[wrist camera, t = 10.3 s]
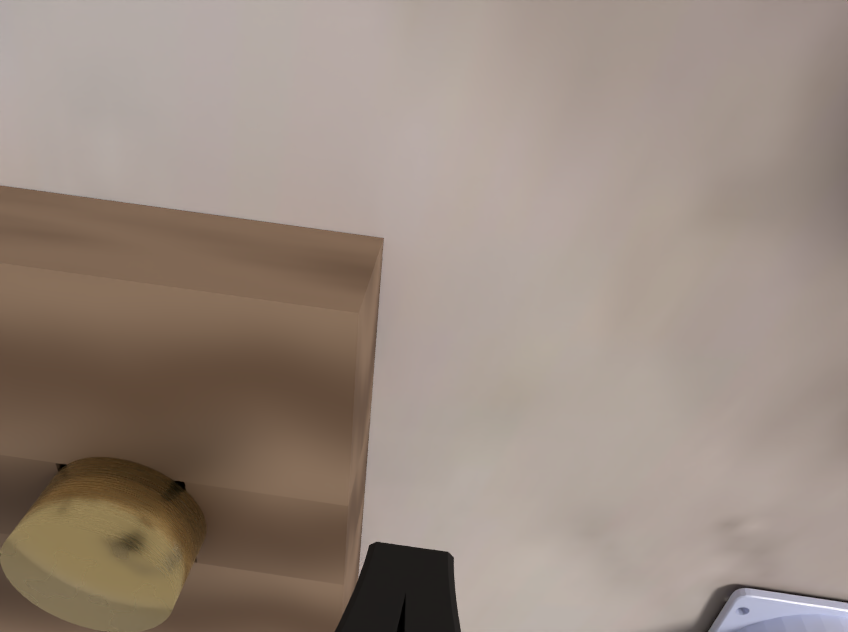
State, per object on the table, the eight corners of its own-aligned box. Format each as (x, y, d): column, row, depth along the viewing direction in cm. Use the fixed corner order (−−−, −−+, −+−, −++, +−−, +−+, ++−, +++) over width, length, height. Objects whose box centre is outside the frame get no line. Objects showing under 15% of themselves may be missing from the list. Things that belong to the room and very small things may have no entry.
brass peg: (246, 488, 25) (181, 643, 20) (120, 468, 25) (22, 618, 20) (241, 390, 22) (164, 542, 17) (99, 368, 22) (-21, 512, 17)
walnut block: (356, 597, 29) (338, 690, 25) (50, 551, 29) (-7, 636, 26) (383, 238, 19) (358, 313, 15) (-84, 173, 19) (-206, 233, 16)
